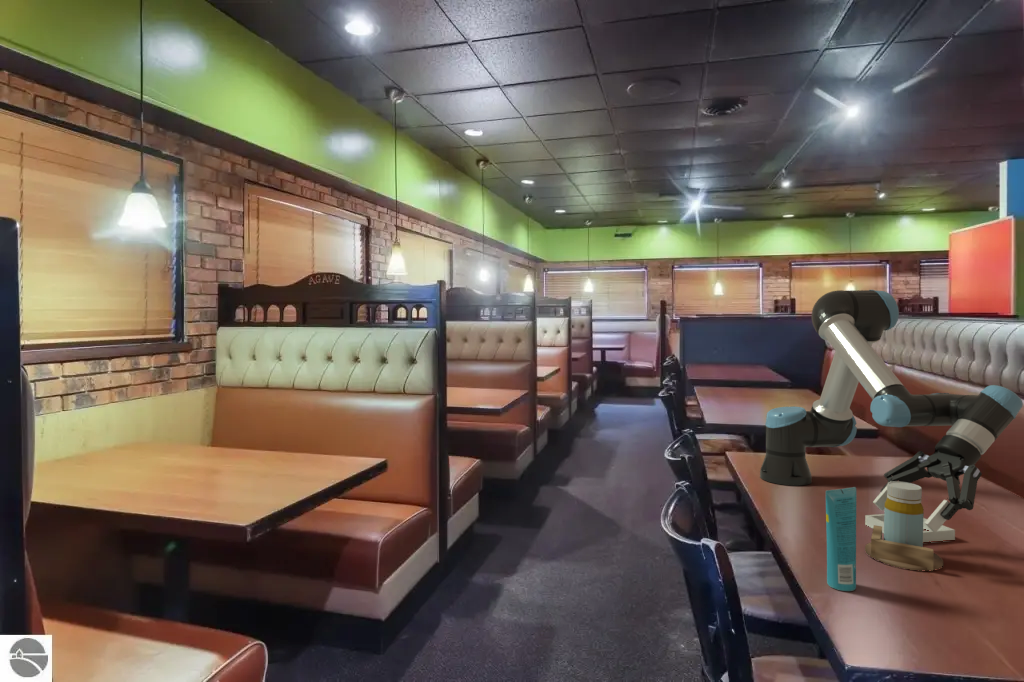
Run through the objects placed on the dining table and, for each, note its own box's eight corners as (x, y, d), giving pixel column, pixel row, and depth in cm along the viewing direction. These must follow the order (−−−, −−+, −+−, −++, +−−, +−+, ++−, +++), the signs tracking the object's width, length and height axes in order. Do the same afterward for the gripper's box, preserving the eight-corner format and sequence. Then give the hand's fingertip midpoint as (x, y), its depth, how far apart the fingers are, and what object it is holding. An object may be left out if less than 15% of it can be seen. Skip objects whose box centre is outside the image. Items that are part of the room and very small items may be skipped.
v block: (901, 541, 131) (901, 523, 131) (963, 569, 116) (964, 548, 116) (846, 546, 129) (846, 527, 129) (903, 575, 114) (903, 554, 113)
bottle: (915, 548, 125) (917, 482, 124) (927, 561, 118) (929, 491, 117) (879, 544, 127) (880, 479, 126) (889, 557, 120) (890, 488, 120)
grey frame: (865, 525, 142) (865, 515, 142) (908, 521, 144) (908, 512, 144) (907, 544, 129) (908, 533, 129) (954, 540, 131) (955, 529, 131)
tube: (842, 577, 113) (843, 483, 112) (865, 587, 109) (866, 490, 108) (816, 584, 110) (817, 487, 110) (839, 595, 106) (839, 494, 105)
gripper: (1033, 471, 112) (967, 550, 110) (924, 444, 136) (868, 509, 135) (1011, 445, 111) (943, 525, 109) (905, 423, 135) (849, 488, 134)
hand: (902, 516), depth 122 cm, fingers open, 13 cm apart
